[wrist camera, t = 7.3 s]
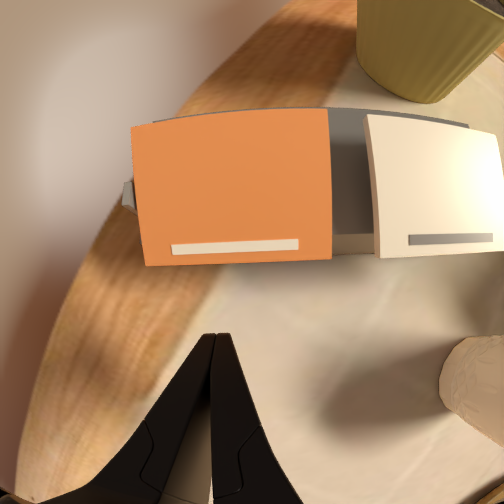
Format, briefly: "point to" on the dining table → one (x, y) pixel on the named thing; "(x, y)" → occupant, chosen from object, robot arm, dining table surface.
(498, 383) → the white cup
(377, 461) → the dining table surface
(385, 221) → the white rocker
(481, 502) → the plant saucer
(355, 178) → the rocker switch box
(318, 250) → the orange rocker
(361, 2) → the potted cactus
